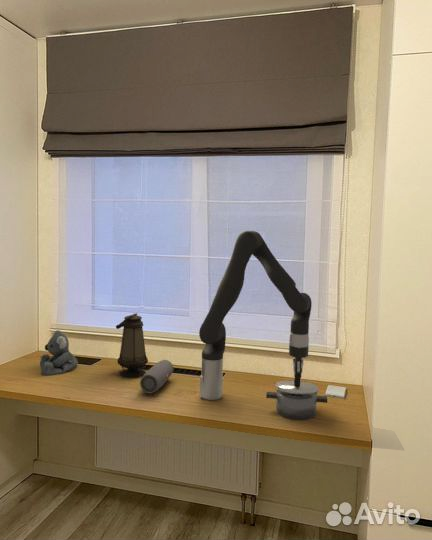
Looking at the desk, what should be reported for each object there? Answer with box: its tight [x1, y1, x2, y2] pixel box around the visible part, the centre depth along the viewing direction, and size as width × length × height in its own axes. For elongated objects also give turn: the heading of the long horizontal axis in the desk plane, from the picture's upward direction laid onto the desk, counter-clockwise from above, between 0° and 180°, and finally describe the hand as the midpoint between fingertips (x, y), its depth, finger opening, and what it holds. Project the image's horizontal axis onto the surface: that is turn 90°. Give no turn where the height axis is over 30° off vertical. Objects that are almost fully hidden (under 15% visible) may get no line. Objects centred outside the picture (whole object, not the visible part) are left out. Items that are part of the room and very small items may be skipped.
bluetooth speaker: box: [139, 359, 174, 394], centre depth 202 cm, size 23×9×10 cm, turn 168°
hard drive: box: [324, 384, 347, 399], centre depth 201 cm, size 2×8×12 cm
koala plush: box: [39, 329, 79, 376], centre depth 223 cm, size 17×18×20 cm
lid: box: [275, 378, 320, 395], centre depth 179 cm, size 17×18×4 cm
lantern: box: [115, 313, 149, 379], centre depth 219 cm, size 18×15×30 cm
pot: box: [265, 389, 328, 421], centre depth 178 cm, size 24×16×8 cm, turn 81°
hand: (297, 386), depth 177 cm, fingers closed
